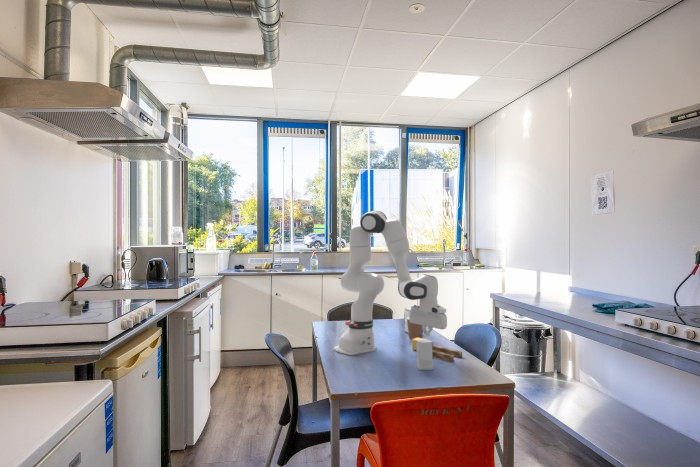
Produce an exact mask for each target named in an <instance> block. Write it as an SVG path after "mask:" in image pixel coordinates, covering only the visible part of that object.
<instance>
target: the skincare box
mask: <svg viewBox="0 0 700 467" xmlns="http://www.w3.org/2000/svg"><path fill="white" fill-rule="evenodd" d="M432 343H433V341H432V340H430V339H426V340H417V350H416V367H417V369H418V370H419V371H423V370H424V371H425V370H427V371H428V370H429V371H431V370H433V357H432Z"/></svg>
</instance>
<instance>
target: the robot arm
mask: <svg viewBox="0 0 700 467" xmlns="http://www.w3.org/2000/svg"><path fill="white" fill-rule="evenodd" d="M372 234H382V236H383V237H384V238H383V239H384V242H385V244H386V245H385V246H386V248H387V250H388V253H389V254H390V257H391V259H392V261H393V264H394V268H395V271H396V275H397V279H398V283H397V291H398V294H399V295H400V297H402V298H405V299H408V300H410V301H417V300H419V305H416V304H413V305H411V312H410V318H409V321H410V323H414V324H419V325H422V329H423V336H428V337H429V336H431V332H432V330H433V328H434V329H438V330H445V329H447V327H448V316H447V314H446V313H447V308H446V307H443V306H442V305H439V304H438V294H439V281H438V279H437V277H435V276H433V275H430V274H425V273H424V274H422V275H421V276H419V277H417V278H414V279H412V277H411V275H410V271H409V266H408V263H407V258H408V256H409V253H410V243H409V239H408V235H407V233H406V230H405V228H404V226H403V224H402V221H400V220H399V219H397V218H391V219H388V217H387V216H386V214H385V213H384V212H383V211H380V210H371V211H367V212H365V213H364V214H363V215H362V216H361V217H360V224H355V225H353V226H352V227H351V228H350V233H349V264H348V267H347V269H346V271H345V272H344V273H343V274H342V275H341V277H340V285H341V287H342V289H343V290H346V291H347V292H350V293H358V297H357V299H356V300H355V301H353V302H352V303H351V308H350V309H351V310H350V314H351V315H350V321H347V320H346V321H345V323H344V324H345V326H348V328H347V329H346V330H345V331H344V332H343V333H342V335H341V336H339V340H338V345H336V346H334V347H333V350H334V351H335V352H337V353H339V354H342V355H348V356H349V355H350V356H355V355H361V354H364V353H369V352H374V351H376V350H377V347H376V345H375V334H374V331H373V327H374V319H373V307H374V302H375V300H376V298H377V297H378V295H380V294H381V293H382V291H383V290H384V288H385V281H384V277H383V276H382V275H380V274H378V273H377V274H376V273H373V272H366V271H365V267H366V265H368V264H369V263H370V262H371V261H372V245H371V244H372V243H371V236H372ZM427 329H428V330H427Z"/></svg>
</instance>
